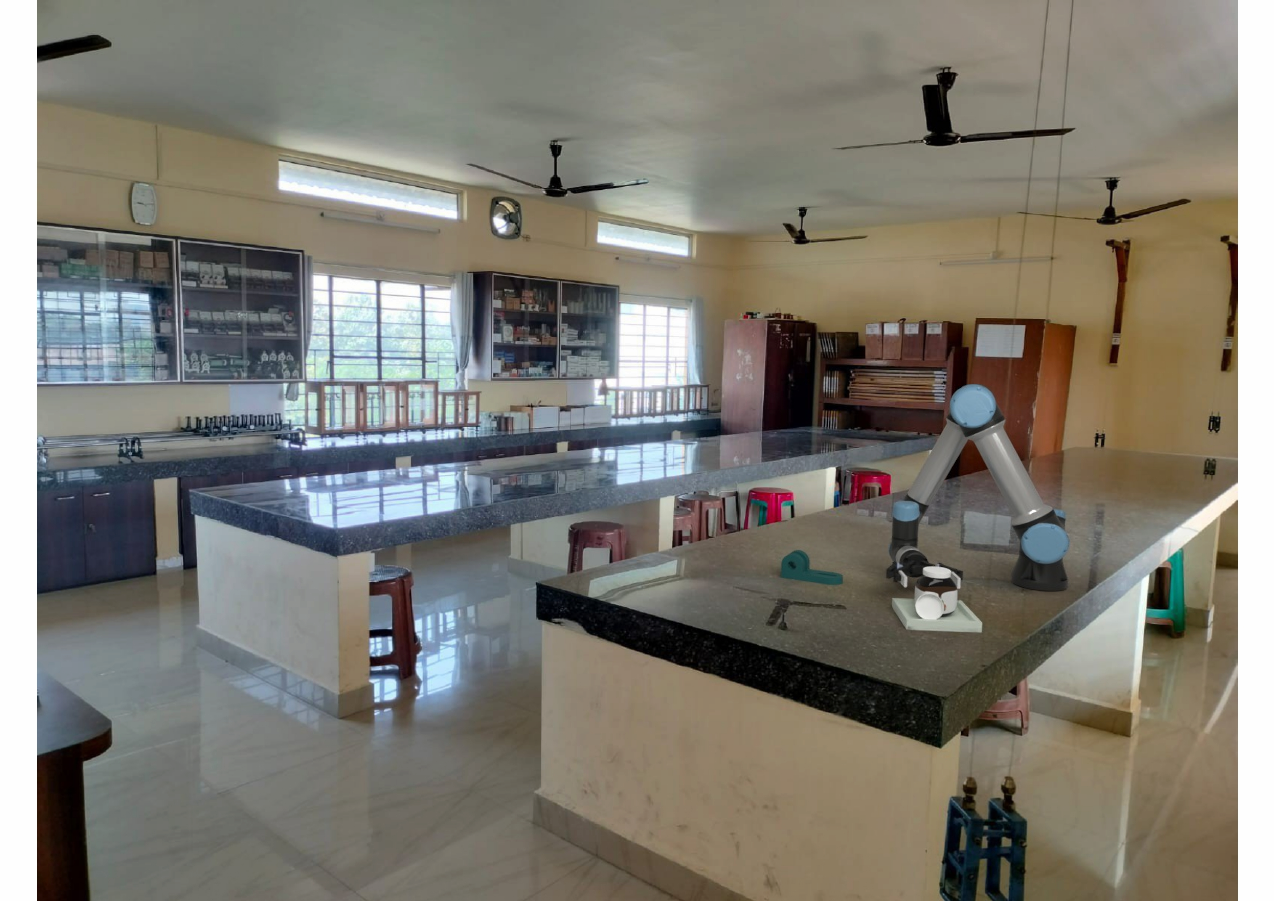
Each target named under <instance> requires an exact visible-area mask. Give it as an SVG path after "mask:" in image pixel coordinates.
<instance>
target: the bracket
mask: <svg viewBox="0 0 1274 901" xmlns="http://www.w3.org/2000/svg"><path fill="white" fill-rule="evenodd" d="M810 561H811V560H810V556H808V554H807V552H805V551H804V550H801V549H796V550H793V551H792V552H790V553H788V554H786V555H785V556H784V557H783V558H782V559H781V564H780V566H781V567H780V578H781V579H787V580H793V579H794V580H795V581H801V582H808V583H814V584H821V585H827V586H828V585H829V586H839V585H842V584H843V582H844V580H843V578H844V576H843V574H842V573H839V572H832V571H827V570H820V569H819V570H818V569H813V568H811V567H810V564H811V562H810Z"/></svg>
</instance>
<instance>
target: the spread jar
mask: <svg viewBox="0 0 1274 901" xmlns="http://www.w3.org/2000/svg"><path fill="white" fill-rule="evenodd" d="M950 577H951V570H949V569H947V568H943V567H934V566H930V567H924V568H923V575H922V576H921V577H918V579H917V580H916V581H915V586H914V599H915V608H916V612H917V613H918V615H919V616H920V617H921V618H923V619H938V618H940V617H947V616H949V615H951V614H952V613H953V612H954V611H955V610H956V607H957V600H958V588H957V586H956V584H955V583H954V581H953V580H952V579H951V578H950Z"/></svg>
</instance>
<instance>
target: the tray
mask: <svg viewBox="0 0 1274 901" xmlns="http://www.w3.org/2000/svg"><path fill="white" fill-rule="evenodd" d="M891 608H892V610H893V611H894V612H895V614H896V616H897V617H898V619H899V620H900V622H901V623H902V625H903V626H904V628H905V630H907V631H930V632H932V631H933V632H934V631H935V632H957V633H958V632H960V633H983V632H982V631H983V622H982V621H981V620H980V618H978V616H976V614H975V613H974V612H973V611H972V610H971V609H970V608H969V607H968V606H967V605H966V604H965V603H964V601H963V600H961V599H959V600H958V599H957V607H956V610H955V611H954V612H953V613H952V614H951V615H949V616H947V617H940V618H938V619H923V618H921V617H920V616H919V615H918V613H917V612H916V608H915V598H901V597H892V598H891Z"/></svg>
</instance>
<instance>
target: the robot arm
mask: <svg viewBox="0 0 1274 901" xmlns="http://www.w3.org/2000/svg"><path fill="white" fill-rule="evenodd" d="M945 420H946V424H945V427H944V428H943V430H942V432H941V434H940V435H939V437H938V438H937V440H936V441H935V444H934V446H933V448H932V449H931V451H930V452H929V454H928V457H927V458H926V459H925V461H924V463H923V465H922V466H921V468H920V470H919V472H918V473H917V476H916V477H915V479H914V481H913V482H912V484H911V486H910V488H909V489H908V491H907V493H906V495H905V496H904V498H903V500H899V501H898V500H897V501H895V502H893V506H892V512H891V513H892V514H891V515H892V524H891V541H890V543H889V545H888V548H887V551H888V554H889V556H890V558H891V560H892V563H891V565H889V566H888V567H887V568H886V571H885V572H886V573H885V574H886V575H885V577H886V579H888V580H889V579H893V580H892V581H893V582H894V583H898V582H899V583H900V584H901V585H902V587H903V588H907V587H908V577H910V578H913V579H917V578H918V579H919V578H920V577H921V576H922V575H923V568H924V567H930V566H934V567H943V568H947V569H949V570H951V577H950V578H951V579H952V580H953V581H954V583H955V584H956V586H957V590H959V589H961V581H963V578H964V571H963V570H961V569H958V568H954V567H952V566H949V565H945V564H944V563H942V562H937V564H934V563H930V562H929V560H928V558H927V556H926V555H925V554H923V553H922V552H921V550H920V549H919V548H918V546H919V545H918V542H919V540H918V539H919V525H920V523H921V521H922V519H923V518H924V515H925V514H926V512H927V510H928V509H929V507H930V505H931V504H932V502H933V499H935V496H936V495H937V493H938V491H939V489H940V488H941V487H942V484H943V483H944V482H945V480H946V478H947V476H948V474H949V473H950V471H951V469H952V467H953V466H954V464H955V462H956V460H957V459H958V457H959V456H960V454H961V453H962V451H963V449H964V447H965V446H966V444H967V442H968V440H970V441H973V443H974V444H975V447H976V448H977V450H978V452H979V454H980V456H981V458H982V460H983V462H984V463H985V465H986V467H987V469H988V471H989V473H990V475H991V477H992V478H993V480H994V483H995V484H996V486H997V488H998V490H999V492H1000V494H1001V496H1002V498H1003V499H1004V501H1005V503H1006V505H1007V507H1008V509H1009V511H1010V513H1011V515H1012V520H1011V521H1010V524H1011V527H1012V529H1013V531H1014V532H1015V534H1016V536H1017V538H1018V540H1019V549H1018V551H1019V552H1018V558H1017V561H1016V563H1015V565H1014V567H1013V570H1012V572H1011V577H1010V578H1011V579H1010V581H1011V582H1012V584H1014V585H1015V586H1019V587H1021V588H1025V589H1030V590H1036V591H1044V592H1057V591H1058V592H1061V591H1064V590H1067V589H1068V587H1069V579H1068V576H1067V572H1066V568H1065V565H1064V562H1063V561H1064V560H1063V558H1064V557H1065V556H1066V555H1067V553H1068V551H1069V549H1070V537H1069V535H1068V533H1067V531H1066V521H1067V518H1066V511H1065V510H1063V509H1059V508H1057V509H1056V508H1054V507H1053V506H1050V505H1048V504H1046V503H1044V501H1043V500H1042V498H1041V496H1040V494H1039V493H1038V490H1037V489H1036V487H1035V484H1034V483H1033V481H1032V480H1031V477H1030V475H1029V473H1028V471H1027V469H1026V468H1025V466H1024V464H1023V461H1021V458H1020V456H1019V455H1018V452H1017V451H1016V449H1015V448H1014V445H1013V444H1012V442H1011V440H1010V438H1009V436H1008V434H1007V432H1006V430H1005V428H1004V426H1005V423H1006V418H1005V416H1004V414H1003V412H1002V410H1001V408H1000V406H999V405H998V403H997V400H996V398H995V395H994V393H993V392H992V390H991V389H990V388H988V386H985V385H984V384H981V383H969V384H966V385H963V386H962V387H961V388H959V389H957V390H956V391H955V392H954V393H953V395H952V396H951V398H950V402H949V412H948V414H947V416H946V418H945Z"/></svg>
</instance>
